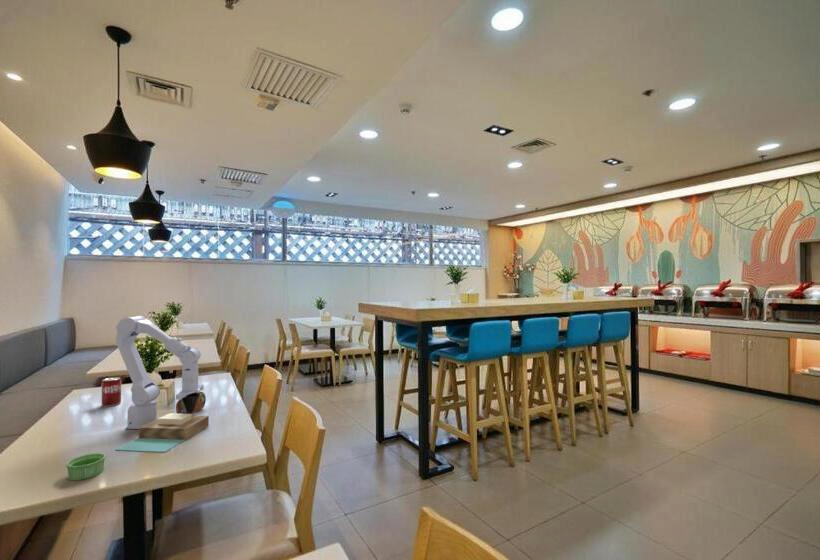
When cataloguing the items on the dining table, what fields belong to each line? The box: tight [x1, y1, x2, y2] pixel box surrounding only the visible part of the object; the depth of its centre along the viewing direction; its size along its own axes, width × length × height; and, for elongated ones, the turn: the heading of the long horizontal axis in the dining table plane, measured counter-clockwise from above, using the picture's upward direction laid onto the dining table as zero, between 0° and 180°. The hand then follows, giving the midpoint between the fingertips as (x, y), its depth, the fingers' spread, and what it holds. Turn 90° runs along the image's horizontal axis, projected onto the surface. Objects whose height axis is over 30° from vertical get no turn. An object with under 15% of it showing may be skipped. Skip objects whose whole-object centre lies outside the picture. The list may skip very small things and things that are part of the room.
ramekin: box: [66, 452, 106, 481], centre depth 116 cm, size 9×9×4 cm
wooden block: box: [138, 414, 210, 441], centre depth 148 cm, size 18×14×4 cm
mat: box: [115, 437, 186, 453], centre depth 136 cm, size 18×10×1 cm, turn 85°
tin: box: [175, 391, 207, 415], centre depth 170 cm, size 15×3×8 cm, turn 168°
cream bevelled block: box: [157, 412, 192, 425], centre depth 148 cm, size 9×6×2 cm, turn 85°
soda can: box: [101, 376, 122, 408], centre depth 182 cm, size 7×7×12 cm
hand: (190, 412), depth 157 cm, fingers closed
